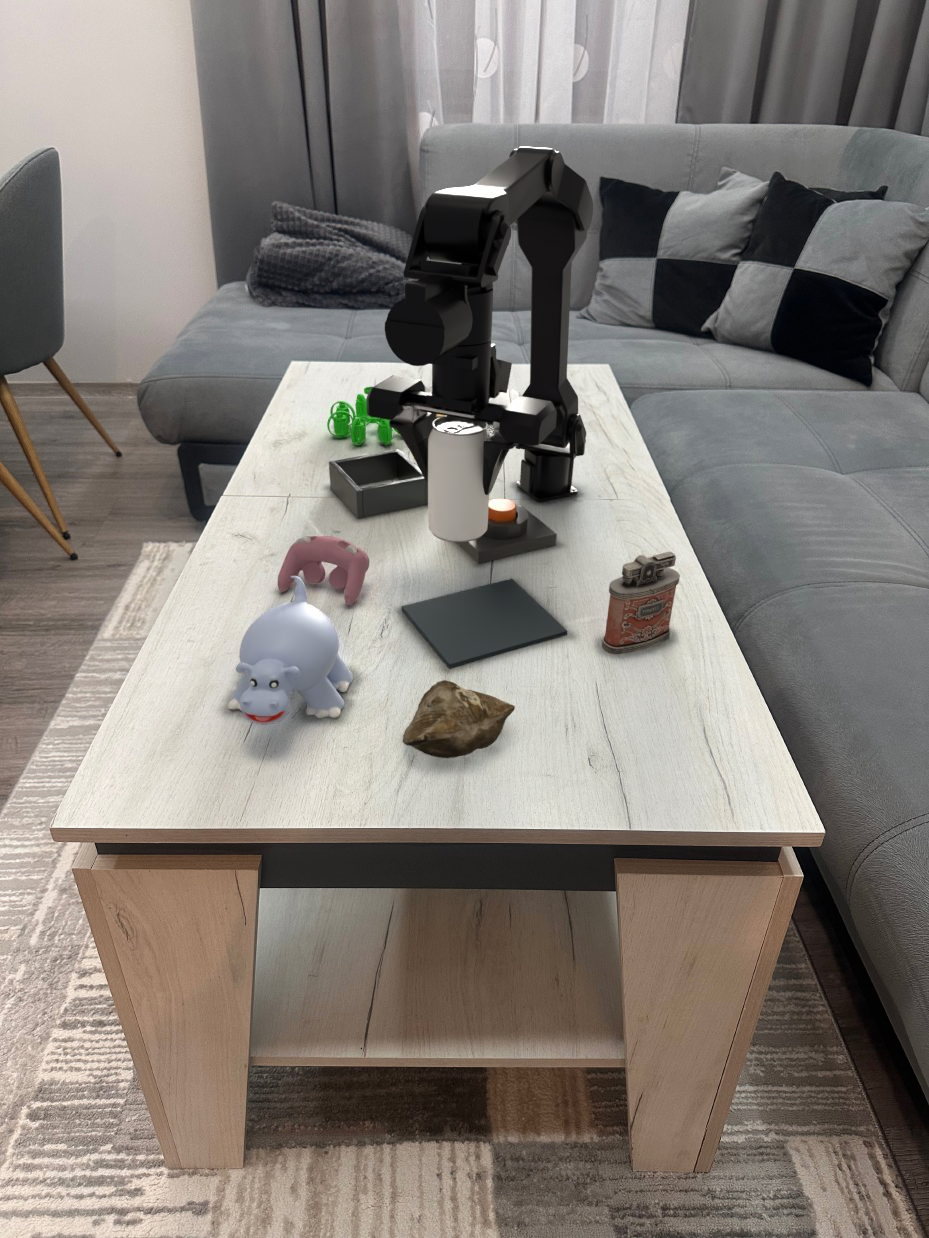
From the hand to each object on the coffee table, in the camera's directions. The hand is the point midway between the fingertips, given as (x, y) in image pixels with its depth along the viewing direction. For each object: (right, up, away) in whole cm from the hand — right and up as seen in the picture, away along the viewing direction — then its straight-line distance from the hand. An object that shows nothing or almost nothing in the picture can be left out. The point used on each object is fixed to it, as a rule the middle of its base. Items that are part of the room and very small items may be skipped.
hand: (458, 487), depth 93 cm
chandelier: (-14, +16, +48) cm, 52 cm away
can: (0, -4, +3) cm, 5 cm away
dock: (-11, +3, +28) cm, 30 cm away
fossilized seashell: (0, -25, -14) cm, 29 cm away
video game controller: (-15, -11, +8) cm, 20 cm away
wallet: (0, +22, +58) cm, 62 cm away
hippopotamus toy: (-16, -22, -9) cm, 29 cm away
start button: (+5, -1, +17) cm, 18 cm away
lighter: (+19, -16, 0) cm, 25 cm away
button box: (+5, -4, +18) cm, 19 cm away
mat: (+3, -14, +2) cm, 15 cm away
